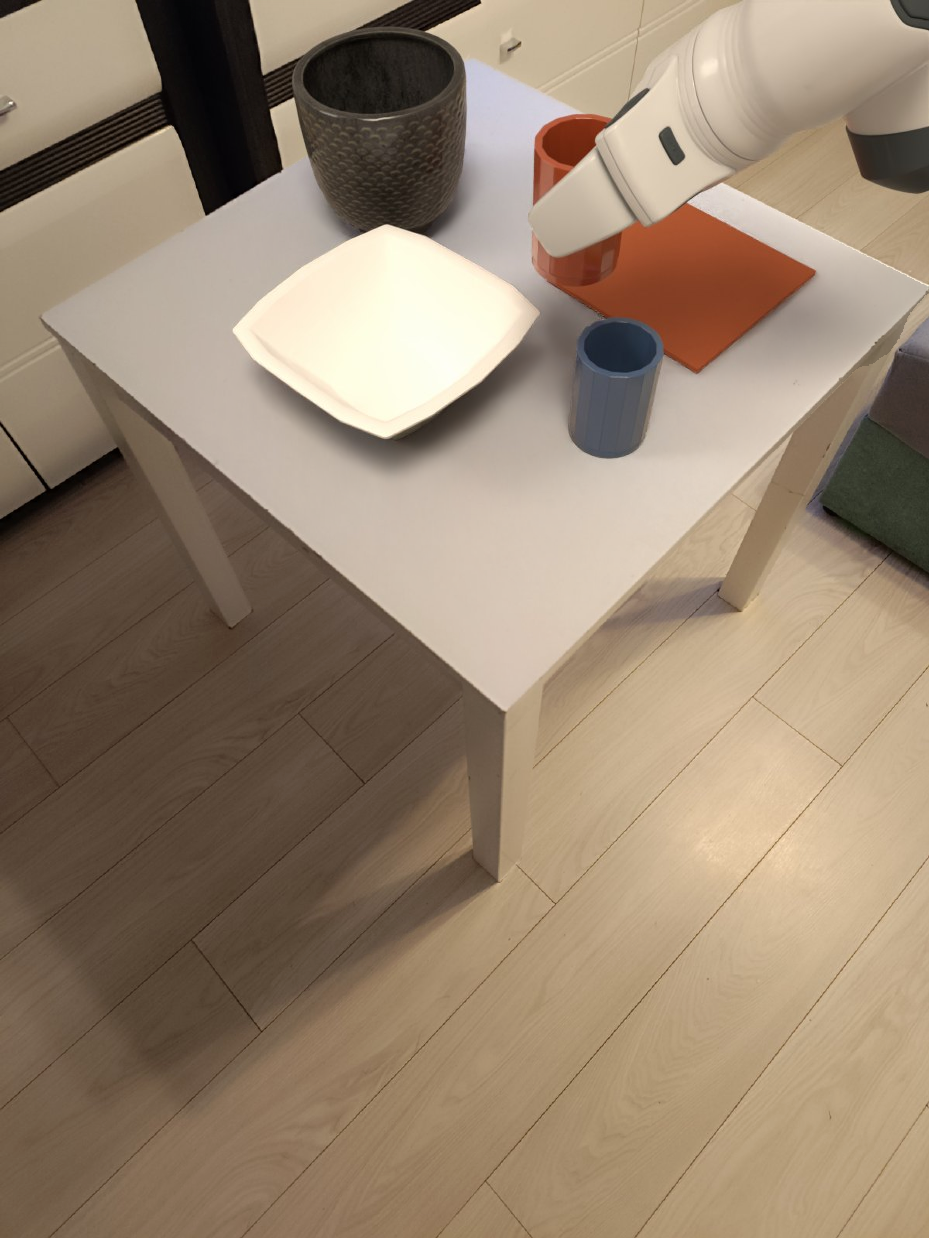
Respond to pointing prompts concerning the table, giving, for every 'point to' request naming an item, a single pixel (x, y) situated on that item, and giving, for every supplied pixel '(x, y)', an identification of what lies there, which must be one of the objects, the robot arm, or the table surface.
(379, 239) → the bowl
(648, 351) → the blue cup
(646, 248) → the rust mat
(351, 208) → the planter
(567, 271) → the rust cup
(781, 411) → the table surface
